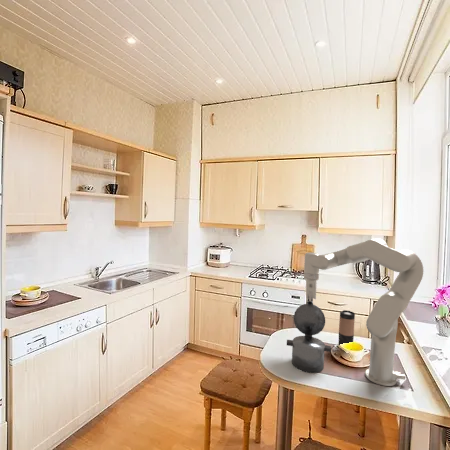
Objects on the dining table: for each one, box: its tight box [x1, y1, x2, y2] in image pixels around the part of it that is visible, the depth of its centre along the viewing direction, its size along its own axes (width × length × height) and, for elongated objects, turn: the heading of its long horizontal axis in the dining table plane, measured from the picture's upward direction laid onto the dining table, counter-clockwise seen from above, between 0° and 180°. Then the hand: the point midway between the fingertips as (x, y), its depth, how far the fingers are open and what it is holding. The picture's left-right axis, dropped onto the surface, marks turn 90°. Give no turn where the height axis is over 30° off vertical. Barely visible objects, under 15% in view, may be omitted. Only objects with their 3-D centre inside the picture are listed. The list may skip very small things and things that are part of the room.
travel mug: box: [337, 309, 356, 345], centre depth 163 cm, size 8×8×20 cm
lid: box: [293, 303, 326, 337], centre depth 154 cm, size 16×16×3 cm
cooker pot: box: [286, 335, 332, 374], centre depth 145 cm, size 21×17×11 cm
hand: (309, 310), depth 158 cm, fingers closed
